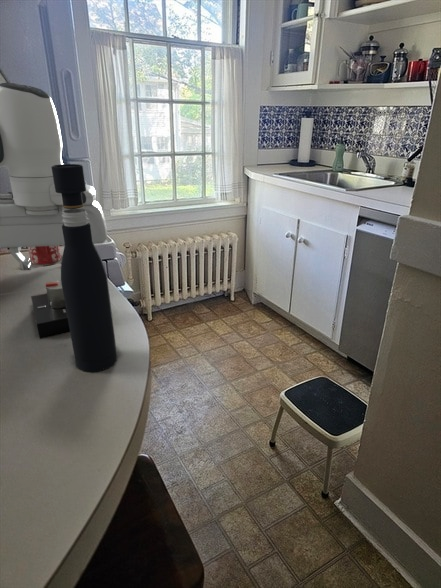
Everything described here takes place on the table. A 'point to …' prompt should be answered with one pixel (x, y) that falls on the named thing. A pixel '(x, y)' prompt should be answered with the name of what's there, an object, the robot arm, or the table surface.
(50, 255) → the mug
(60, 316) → the panel
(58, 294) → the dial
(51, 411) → the table surface
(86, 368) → the black bottle
